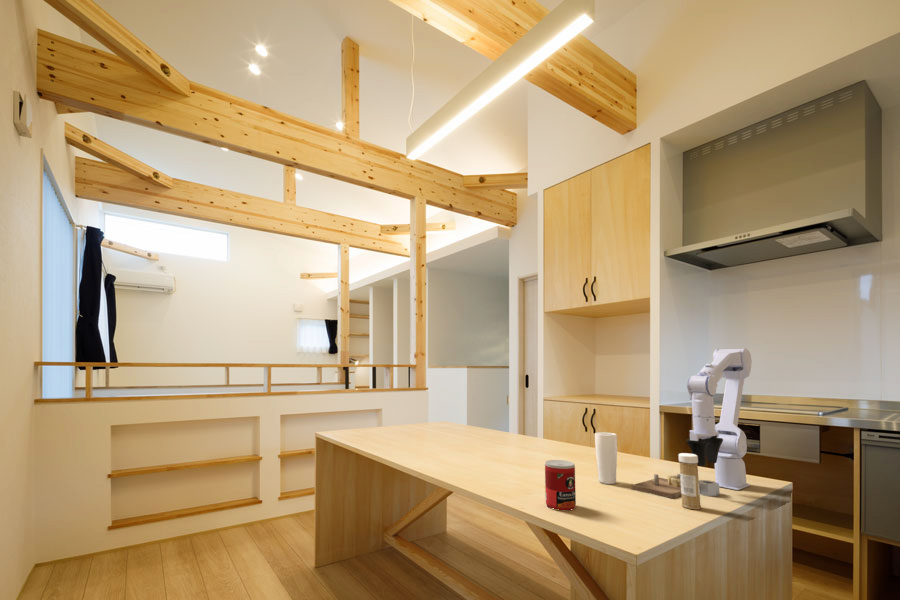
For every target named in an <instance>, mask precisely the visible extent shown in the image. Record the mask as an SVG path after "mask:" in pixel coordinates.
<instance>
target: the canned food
mask: <svg viewBox="0 0 900 600" xmlns="http://www.w3.org/2000/svg"><path fill="white" fill-rule="evenodd" d="M544 483H545V505H546V507H548V508H549V507H550V508H549V509H551V508H554V509H559V510H570V511H572V510H571V509H573V510H575V508H576V504H577V502H576V501H577V500H576V499H577V497H576V496H577V495H576V466H575V463H574V462H572V461H569V460H564V459H550V460H546V461H545V462H544ZM554 509H553V510H554ZM559 510H558V511H559Z"/></svg>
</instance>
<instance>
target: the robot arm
mask: <svg viewBox="0 0 900 600" xmlns="http://www.w3.org/2000/svg"><path fill="white" fill-rule="evenodd" d="M712 359H713V360H712V361H711V363H706V364H705V365H704V366H703V367H702V368H701V369H700V370H699V372H697V374H696V375H691V376H689V377H688V378H687V382H686V383H687V384H686V389H687V392H688V394H689V399H690V400H691V413H692V424H693V426H692V427H693V429H690V430H689V438H688V439H686V443H687V445H688V447H689V448H690V450H691V454H695V455H697V456H698V464H697V467H698V466H699V467H705V466H706V460H707V462H708V463H710V464H714V477H715V480H714V482H717V483H719V488H725V489H730V490H734V491H735V490H736V491H740V490H742V489H745V488H747V487H750V486H751V484H750V483H747V472H746V464H745V461H744V460H743V458H744V457H745V455H746V454H747V449H748V447H747V446H748V445H747V436H746V434H745V432H744V431H743V430H742V429H741V428H740V427H738V424H739V418H740V410H741V409H740V408H741V404H742V396H743V391H744V389H743V388H744V382H745V379H746V378H748V377H750V374H751V368H752V363H753V362H752V361H753V360H752V355H751V352H750V350H749V349H748V348H726V349H725V348H724V349H723V348H722V349H721V348H716V349H715V350H714V351H713V354H712ZM723 378H724V379H725V380H726V381H725V387H724V392H723V393H724V394H723V400H722V403H721V404H722V405H721V406H722V407H721V412H720V417H719V422H718V423H716V419H715V404H714V395H716V393H717V387H718V383H719V382H720V381H721V380H722V379H723Z"/></svg>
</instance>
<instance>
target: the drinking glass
mask: <svg viewBox="0 0 900 600" xmlns="http://www.w3.org/2000/svg"><path fill="white" fill-rule="evenodd" d="M594 449H595V456H596V457H595V458H596V464H597V465H596V466H597V476H598V478H597V479H598V482H599V483H600V484H604V485H614V484H616V483H617V465H618V463H617V462H618V434H617V433H613V432H606V431H605V432H603V431H601V432H599V431H598V432H597V431H596V432H595V433H594Z"/></svg>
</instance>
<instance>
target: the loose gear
mask: <svg viewBox="0 0 900 600" xmlns="http://www.w3.org/2000/svg"><path fill="white" fill-rule="evenodd" d="M699 489H700V495H701V496H705V495H706V497H716V496H717V497H718V495H719V496H721V494H720V493H721V492H720V487H719V483H717V482H715V480H709V479H699Z"/></svg>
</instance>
